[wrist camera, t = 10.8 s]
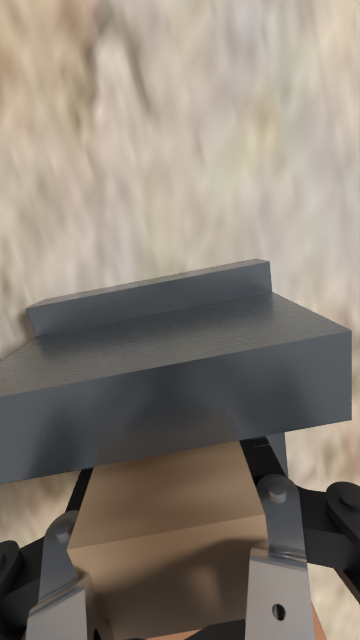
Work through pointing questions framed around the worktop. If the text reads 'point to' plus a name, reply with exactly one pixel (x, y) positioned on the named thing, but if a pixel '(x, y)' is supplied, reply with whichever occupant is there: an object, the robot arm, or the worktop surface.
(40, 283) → the worktop surface
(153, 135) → the worktop surface
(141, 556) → the walnut block
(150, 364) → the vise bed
